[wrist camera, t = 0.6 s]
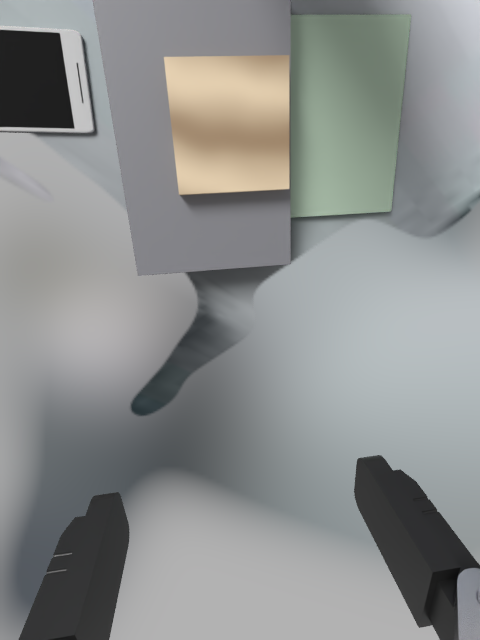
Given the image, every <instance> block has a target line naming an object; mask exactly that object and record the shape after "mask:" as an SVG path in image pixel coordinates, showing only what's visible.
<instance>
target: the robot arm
mask: <svg viewBox="0 0 480 640" xmlns="http://www.w3.org/2000/svg"><path fill="white" fill-rule="evenodd" d="M354 493H355V499H356V503H357V506H358V508H359V511H360V513H361V514H362V516H363V519H364V520H365V522H366V524H367V526H368V528H369V530H370V532H371V534H372V536H373V538H374V540H375V542H376V544H377V546H378V548H379V550H380V552H381V554H382V556H383V558H384V560H385V562H386V564H387V566H388V568H389V570H390V572H391V574H392V575H393V578H394V579H395V582H396V584H397V585H398V587H399V589H400V591H401V593H402V595H403V597H404V599H405V601H406V603H407V605H408V607H409V609H410V611H411V613H412V615H413V617H414V619H415V621H416V623H417V625H418V626H419V628H420V627H425V626H430V625H433V627H434V629H435V631H436V633H437V634H438V636H439V638H440V640H480V565H479V564H478V563H477V561H476V560H475V559H474V558H473V556H472V555H471V554H470V552H469V551H468V550H467V548H466V547H465V546H464V544H463V543H462V542H461V540H460V539H459V538H458V536H457V535H456V534H455V533H454V531H453V530H452V529H451V527H450V526H449V525H448V523H447V522H446V521H445V519H444V518H443V517H442V515H441V514H440V513H439V512H437V509H436V507H434V505H433V503H432V502H431V501H430V500H428V498H427V496H426V494H425V493H424V492H423V490H422V489H421V488H420V486H419V485H418V484H417V482H416V481H414V480H413V479H412V478H411V477H409V476H408V475H407V474H405V473H404V472H403V471H401V470H395V471H393V470H392V469H391V467H390V466H389V465H388V463H387V462H386V460H385V459H384V458H383V457H382V456H380V455H377V456H371V457H364V458H359V459H358V460H357V466H356V477H355V489H354ZM128 544H129V524H128V520H127V517H126V513H125V510H124V506H123V502H122V499H121V496H120V494H119V493H118V492H116V493H109V494H103V495H96V496H94V497H93V498H92V499H91V502H90V505H89V507H88V510H87V513H86V516H82V517H75V518H74V520H73V521H72V522H71V523H70V525H69V526H68V527H67V528H66V530H65V531H64V532H63V534H62V535H61V537H60V540H59V542H58V545H57V547H56V550H55V552H54V556H53V558H52V559H51V562H50V564H49V567H48V569H47V574H46V575H45V576H44V579H43V582H42V584H41V586H40V589H39V591H38V593H37V596H36V598H35V601H34V604H33V606H32V608H31V611H30V613H29V616H28V618H27V621H26V623H25V625H24V628H23V630H22V633H21V635H20V638H19V640H109V637H110V632H111V627H112V623H113V618H114V613H115V608H116V603H117V598H118V593H119V588H120V583H121V578H122V574H123V569H124V564H125V559H126V554H127V549H128Z"/></svg>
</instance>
